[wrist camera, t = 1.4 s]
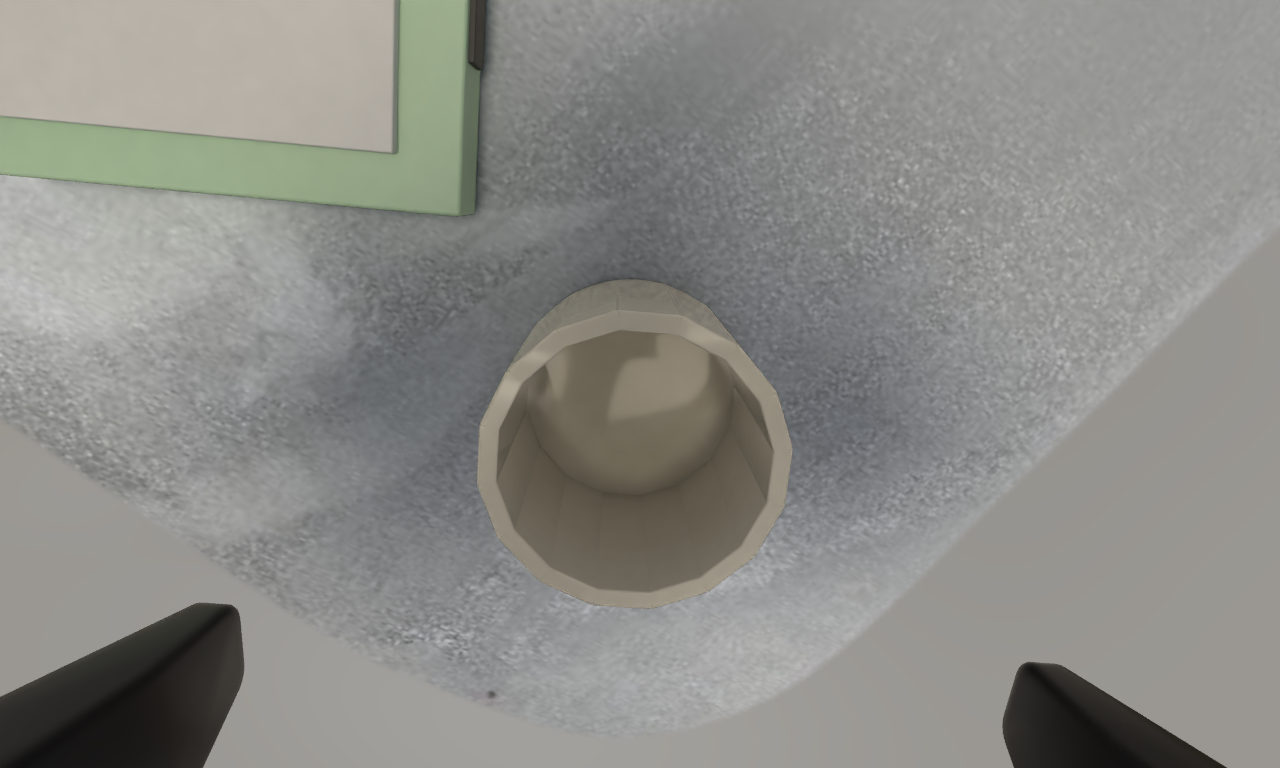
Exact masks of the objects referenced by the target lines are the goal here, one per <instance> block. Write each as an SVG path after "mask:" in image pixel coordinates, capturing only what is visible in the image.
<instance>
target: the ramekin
mask: <svg viewBox="0 0 1280 768" xmlns="http://www.w3.org/2000/svg"><path fill="white" fill-rule="evenodd" d="M792 453H793V451H792V444H791V440H790V436H789V433H788V429H787V426H786V422H785V418H784V415H783V411H782V407H781V404H780V400H779V396H778V394H777V393H776V390H775V389H774V388H773V386H772V385H771V384H770V383H769V381H768V380H767V379H766V378H765V376H764V375H763V374H762V373H761V371H760V370H759V369H758V368H757V366H756V365H755V364H754V363H753V361H752V360H751V359H750V358H749V356H748V355H747V354H746V353H745V351H744V350H743V349H742V348H741V346H740V345H739V344H738V343H737V341H736V340H735V339H734V338H733V336H732V335H731V334H730V333H729V332H728V330H727V329H726V328H725V327H724V325H723V324H722V323H721V322H720V321H719V319H718V318H717V317H716V316H715V314H714V313H713V312H712V311H711V310H710V308H709V307H707V306H706V305H705V304H703V303H701V302H699V301H698V300H696V299H695V298H693V297H692V296H690V295H688V294H687V293H685V292H683V291H681V290H678V289H676V288H674V287H672V286H669V285H667V284H664V283H658V282H654V281H648V280H641V279H622V280H612V281H607V282H603V283H599V284H595V285H592V286H590V287H587V288H584V289H582V290H580V291H578V292H575V293H573V294H572V295H569V296H568V297H567V298H566V299H564V300H563V301H561V302H560V303H559V304H557V305H556V306H555V307H554V308H553V309H552V310H551V311H550V312H549V313H547V314H546V315H545V316H544V317H543V318H542V319H541V320H540V321H539V322H538V323H536V325H535V326H534V327H533V329H532V331H531V332H530V334H529V335H528V337H527V339H526V340H525V342H524V343H523V345H522V347H521V348H520V350H519V351H518V353H517V355H516V356H515V358H514V359H513V361H512V363H511V364H510V366H509V367H508V369H507V371H506V372H505V374H504V376H503V378H502V380H501V382H500V384H499V386H498V388H497V390H496V392H495V394H494V396H493V398H492V400H491V402H490V404H489V406H488V408H487V410H486V412H485V414H484V416H483V418H482V420H481V422H480V427H479V445H478V468H477V483H478V488H479V491H480V494H481V496H482V499H483V501H484V504H485V506H486V509H487V512H488V514H489V517H490V519H491V522H492V524H493V527H494V530H495V532H496V535H497V537H498V538H499V540H500V541H501V542H502V543H503V544H504V545H505V546H506V547H507V548H508V549H509V550H510V551H511V552H512V553H513V555H514V556H515V557H516V558H517V559H518V560H519V561H520V562H521V563H522V564H523V565H524V566H525V567H526V568H527V569H528V570H529V571H530V572H531V573H532V574H533V575H534V576H535V577H536V578H537V579H538V580H539V579H540V581H541V582H543V583H545V584H547V585H549V586H551V587H554V588H556V589H558V590H560V591H562V592H565V593H567V594H569V595H571V596H573V597H576V598H578V599H580V600H582V601H584V602H587V603H589V604H593V605H599V606H614V607H629V608H643V609H650V608H656V607H660V606H663V605H667V604H670V603H673V602H677V601H680V600H683V599H687V598H690V597H694V596H697V595H700V594H704V593H706V592H707V591H710V590H711V589H713V588H714V587H715V586H717V585H718V584H719V583H721V582H722V581H723V580H725V579H726V578H727V577H729V576H730V575H731V574H733V573H734V572H735V571H737V570H738V569H739V568H740V567H742V566H743V565H744V564H746V563H747V562H748V561H750V560H751V559H752V558H753V556H755V555H756V553H757V552H758V550H759V549H760V547H761V545H762V544H763V542H764V540H765V539H766V537H767V535H768V534H769V532H770V530H771V529H772V527H773V525H774V524H775V522H776V520H777V519H778V517H779V516H780V514H781V512H782V511H783V509H784V506H785V501H786V494H787V487H788V481H789V474H790V467H791V460H792Z"/></svg>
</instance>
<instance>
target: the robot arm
mask: <svg viewBox="0 0 1280 768" xmlns="http://www.w3.org/2000/svg"><path fill="white" fill-rule="evenodd" d="M243 656H244V655H243V644H242V633H241V622H240V616H239V612H238V610H237V609H236V608H235V607H234V606H232V605H227V604H214V603H196V604H193V605H191V606H189V607H187V608H185V609H183V610H181V611H179V612H177V613H175V614H172V615H170V616H168V617H166V618H164V619H162V620H160V621H158V622H156V623H154V624H152V625H150V626H147V627H145V628H143V629H141V630H139V631H137V632H135V633H133V634H131V635H129V636H126V637H124V638H122V639H120V640H118V641H116V642H114V643H112V644H110V645H108V646H106V647H104V648H101V649H99V650H97V651H95V652H93V653H91V654H89V655H87V656H85V657H83V658H81V659H78V660H77V661H74V662H72V663H70V664H68V665H66V666H64V667H62V668H60V669H58V670H56V671H54V672H51V673H49V674H47V675H45V676H43V677H41V678H39V679H37V680H35V681H33V682H30V683H28V684H26V685H24V686H22V687H20V688H18V689H16V690H14V691H12V692H10V693H8V694H5V695H4V696H1V697H0V768H203V766H204V764H205V762H206V760H207V758H208V755H209V753H210V751H211V749H212V747H213V745H214V743H215V740H216V738H217V736H218V734H219V732H220V730H221V728H222V725H223V723H224V721H225V719H226V717H227V714H228V712H229V710H230V708H231V706H232V703H233V702H234V699H235V697H236V695H237V693H238V691H239V688H240V686H241V683H242V679H243V675H244V657H243ZM1003 735H1004V739H1005V743H1006V746H1007V749H1008V752H1009V754H1010V757H1011V760H1012V763H1013V766H1014V768H1226V767H1225V766H1223V765H1222V764H1220V763H1218V762H1217V761H1215V760H1213V759H1212V758H1210V757H1209V756H1207V755H1205V754H1204V753H1202V752H1201V751H1199V750H1197V749H1196V748H1194V747H1193V746H1191V745H1189V744H1188V743H1186V742H1185V741H1183V740H1181V739H1179V738H1178V737H1176V736H1175V735H1173V734H1172V733H1170V732H1168V731H1167V730H1165V729H1163V728H1162V727H1160V726H1159V725H1157V724H1155V723H1154V722H1152V721H1150V720H1149V719H1147V718H1146V717H1144V716H1143V715H1141V714H1139V713H1138V712H1136V711H1134V710H1133V709H1131V708H1130V707H1128V706H1126V705H1124V704H1123V703H1121V702H1120V701H1118V700H1117V699H1115V698H1113V697H1112V696H1110V695H1109V694H1107V693H1105V692H1104V691H1102V690H1100V689H1099V688H1097V687H1096V686H1094V685H1092V684H1091V683H1089V682H1087V681H1086V680H1084V679H1083V678H1081V677H1079V676H1078V675H1076V674H1075V673H1073V672H1071V671H1070V670H1068V669H1067V668H1065V667H1063V666H1061V665H1058V664H1050V663H1036V662H1027V663H1024V664H1022V665H1021V666H1020V667H1019V669H1018V671H1017V673H1016V676H1015V680H1014V683H1013V686H1012V690H1011V693H1010V696H1009V700H1008V703H1007V706H1006V710H1005V713H1004V717H1003Z"/></svg>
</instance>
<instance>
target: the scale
mask: <svg viewBox="0 0 1280 768" xmlns="http://www.w3.org/2000/svg"><path fill="white" fill-rule="evenodd" d="M485 13H486V0H0V175H10V176H21V177H32V178H42V179H53V180H64V181H75V182H86V183H97V184H108V185H119V186H130V187H140V188H151V189H162V190H173V191H184V192H195V193H206V194H217V195H227V196H238V197H249V198H260V199H271V200H282V201H293V202H304V203H315V204H325V205H336V206H347V207H358V208H369V209H380V210H391V211H402V212H412V213H423V214H434V215H445V216H456V217H458V216H464V215H471V214H474V212H475V192H476V167H477V141H478V116H479V90H480V71H482V70H483V63H484V38H485Z"/></svg>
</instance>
